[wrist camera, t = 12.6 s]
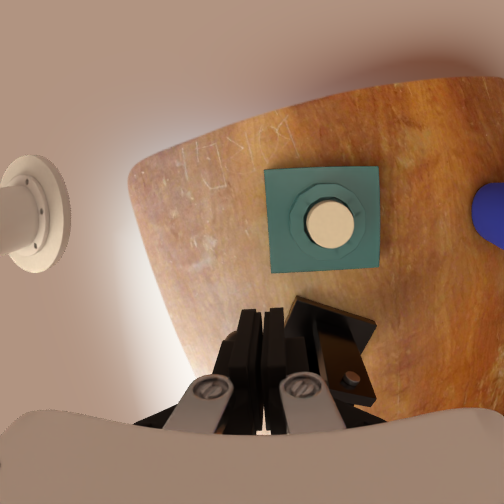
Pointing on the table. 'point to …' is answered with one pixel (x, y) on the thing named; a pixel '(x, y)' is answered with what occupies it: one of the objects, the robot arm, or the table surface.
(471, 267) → the table surface
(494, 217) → the mug
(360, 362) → the bracket
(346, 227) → the button
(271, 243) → the button block
